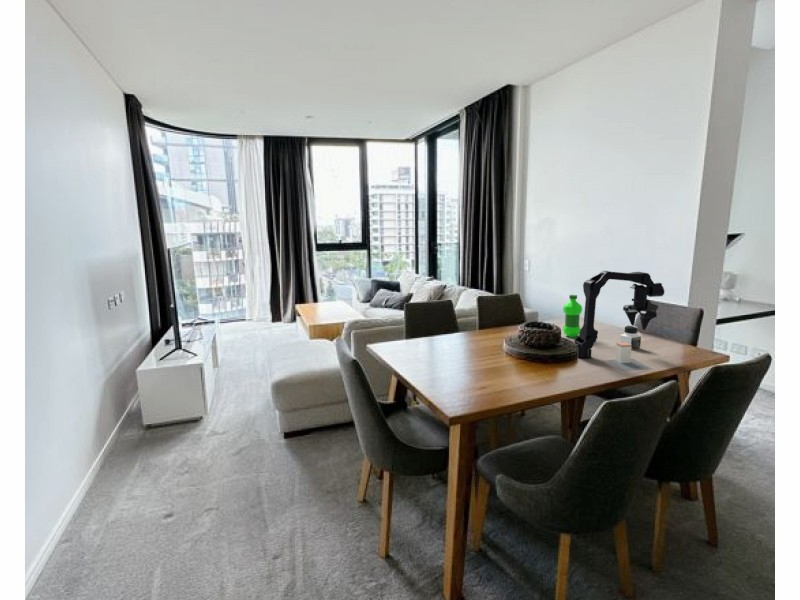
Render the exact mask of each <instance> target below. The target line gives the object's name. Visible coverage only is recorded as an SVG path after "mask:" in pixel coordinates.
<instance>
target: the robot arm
mask: <svg viewBox="0 0 800 600" xmlns="http://www.w3.org/2000/svg"><path fill="white" fill-rule="evenodd" d="M609 280H615V281H616V280H617V281H624V282H625V281H629V282H632V283H633V284H631V286H629V288H630V289H633V290H634V291H633V292H634V293H633V298H631V301H632V303H633V304H625V305H624V306H622V307H623V308H622V310H623V311H624V313H625V314H626V316H627V319H628V320H629V321H628V322H629V323H630V326H635V321H636V318H637V315H638V313H639V315H640V316H639V319H640V324H641V329H642V331H645V330H646V329H647V327H648V325H649V323H650V322H651V321H652V320H653V319H655V318H657V317H658V313H657V311H658V309H659V305H658V304H654V303H652V301H650V300H649V299H648V297H649V298H652V297H653V298H655V297H656V298H657V297H663V296H664V295H665V288H664V286H663V283H661V282H655V283H654V281H653V280H652V278H651V275H650V273H649V272H643V271H633V272H617V271H610V270H609V271H607V270H602V271H600V272H599V273H598V274H595V275H594V276H592V277H591V278H588V279H587V280H585V281H584V282H583V284H582V286H583V293H584V296H585V303H584V314H583V316H584V317H583V324H582V326H581V327H580V329H581V330H580V333H579V335H577V336H576V337H575V338H574V340H573V342H574V345H575V351H576V350H577V357H576V358H577V359H579V360H590V359H592V349H593V346H594V344H595V343H596V341H597V340H598V335H599V331H598V329H596V328H595V316H596V305H597V298H598V297H599V295H600V293H601V289H602V288H603V287H604V286H606V284H607V282H608V281H609Z"/></svg>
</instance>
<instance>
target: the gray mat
mask: <svg viewBox="0 0 800 600" xmlns="http://www.w3.org/2000/svg"><path fill="white" fill-rule="evenodd" d="M605 361H606V362H607V363H608V364H610V365H612V366H614V367H616V368H617V369H620V370H621V371H638V370H642V371H643V370H653V369H652V368H651V367H650V366H648V365H646V364H644V363H642V362H640V361H638V360H636V359H634V358H631V362H630V363H619V362H617V361H616V358H615V359H605Z"/></svg>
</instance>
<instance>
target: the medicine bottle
mask: <svg viewBox="0 0 800 600" xmlns="http://www.w3.org/2000/svg"><path fill="white" fill-rule="evenodd" d="M638 328H639V327H637V326H635V325H633V326H632V325H626V326H624V333H622V334H620V335H619V336H620V337H619V343H625V342H627V343H629V344H631V345H632V347H631V350H635V349H639V348H640V349H641V342H642V336H641V335H639V334H638Z"/></svg>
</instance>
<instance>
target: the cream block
mask: <svg viewBox="0 0 800 600" xmlns="http://www.w3.org/2000/svg"><path fill="white" fill-rule="evenodd" d="M631 347H632V345H631V344H629V343H627V342H625V343H620V342H616V347H615V348H616V349H615V359H616V361H617V362H619V363H630V362H631V359H632V349H631Z"/></svg>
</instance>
